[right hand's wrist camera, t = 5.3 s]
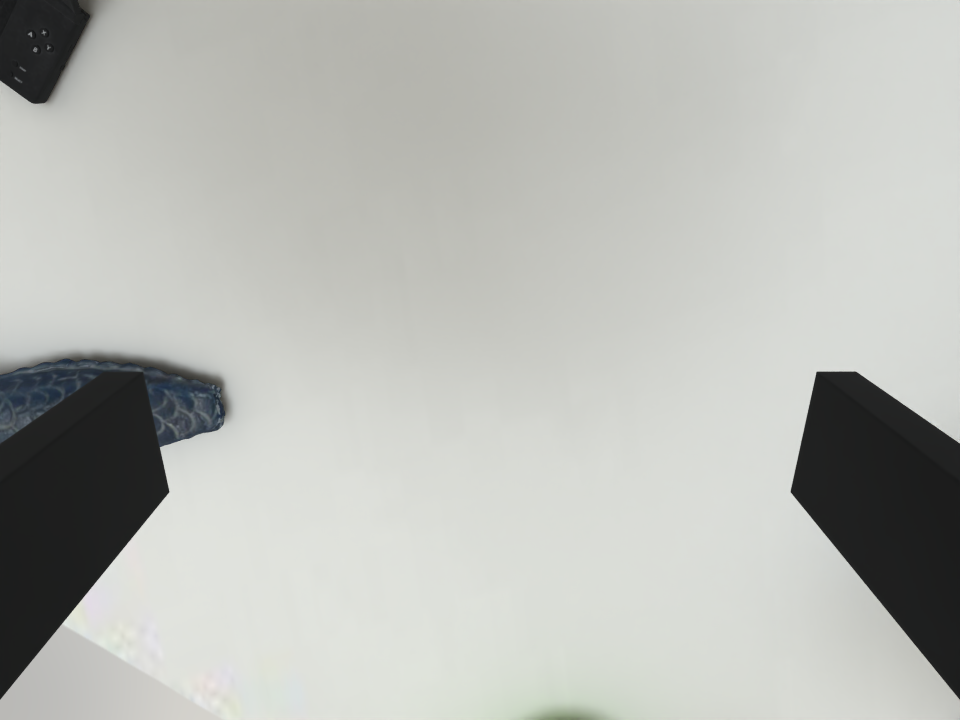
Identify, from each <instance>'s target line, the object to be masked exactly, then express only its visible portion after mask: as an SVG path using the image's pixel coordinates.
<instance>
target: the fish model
mask: <svg viewBox="0 0 960 720" xmlns="http://www.w3.org/2000/svg"><path fill="white" fill-rule="evenodd" d="M103 372H143V373H144V377H145V382H146V387H147V391H148V396H149V400H150V405H151V410H152V414H153V419H154V423H155V428H156V433H157V437H158V442H159V446H160V447H162V446H164V445H168V444H171V443H174V442H177V441H180V440H183V439H189V438H192V437H193V436H195V435H198V434H201V433H206V432H212V431H216V430H218V429H220V428H221V427H222V425H223V423H224V416H225V411H224V407H223V404H222V402H221V400H220V397H221V395H220V392H221V388H220V387H216V385H213V384H210V383H205V384H204V383H201V382H200V381H199V380H188V379H185V378H183V377H181V376H179V375H177V374H166V373H165V372H163V371H160V370H158V369H156V368H153V367H147V368H143V367H141V366H139V365H136V364H132V363H127V364H117V363H115V362H111V361H109V362H101V363H100V362H98V361H95V360H85V359H84V360H81V361H79V362H75V361H72V360H70V359H63V360H61V361H58V362H55V363H51V362H45V363H41V364H39V365H37V366H35V367H33V368H27V367H25V368H20V369H18V370H16V371H14V372H12V373H8V374H4V375H0V443H2V442H3V441H5V440H6V439H8V438H9V437H11V436H12V435H13V434H15V433H16V432H18V431H19V430H21V429H22V428H23V427H25V426H26V425H28V424H29V423H31V422H32V421H34V420H35V419H36V418H38V417H39V416H41V415H42V414H44V413H45V412H47V411H48V410H49V409H51V408H52V407H54V406H55V405H57V404H58V403H60V402H61V401H62V400H64V399H65V398H67V397H68V396H70V395H71V394H73V393H74V392H75V391H77V390H78V389H80V388H81V387H83V386H84V385H86V384H87V383H88V382H90V381H91V380H93V379H94V378H96V377H97V376H99V375H100V374H101V373H103Z"/></svg>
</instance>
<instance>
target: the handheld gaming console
mask: <svg viewBox="0 0 960 720" xmlns="http://www.w3.org/2000/svg"><path fill="white" fill-rule="evenodd" d="M89 17H90V15H89V14H87V13H86V12H85V11H84V10H82V9H81V8H80V7H79V3H78V0H0V81H2V82H3V83H5V84H6V85H7V86H9V87H10V88H11V89H13V90H14V91H16V92H17V93H18V94H20V95H21V96H22V97H24V98H25V99H27V100H28V101H29V102H31V103H34V104H39V103H45V102H46V101H47V99H48V97H49V95H50V93H51V91H52V89H53V87H54V85H55V83H56V81H57V79H58V77H59V75H60V73H61V71H62V70H63V69H64V67H65V63H66V61H67V59H68V58H69V56H70V54H71V52H72V50H73V48H74V46H75V44H76V42H77V40H78V38H79V36H80V34H81V32H82V30H83V29H84V27H85V25H86V23H87V21H88V19H89Z"/></svg>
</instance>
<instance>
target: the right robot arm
mask: <svg viewBox="0 0 960 720" xmlns="http://www.w3.org/2000/svg"><path fill="white" fill-rule="evenodd" d="M168 493H169V488H168V483H167V479H166V474H165V469H164V465H163V460H162V456H161V451H160V446H159V442H158V437H157V433H156V428H155V423H154V419H153V414H152V410H151V405H150V400H149V396H148V391H147V387H146V382H145V377H144V373H143V372H103V373H101V374H100V375H99V376H97V377H96V378H94V379H93V380H91V381H90V382H88V383H87V384H86V385H84V386H83V387H81V388H80V389H78V390H77V391H75V392H74V393H73V394H71V395H70V396H68V397H67V398H65V399H64V400H62V401H61V402H60V403H58V404H57V405H55V406H54V407H52V408H51V409H49V410H48V411H47V412H45V413H44V414H42V415H41V416H39V417H38V418H36V419H35V420H34V421H32V422H31V423H29V424H28V425H26V426H25V427H23V428H22V429H21V430H19V431H18V432H16V433H15V434H13V435H12V436H11V437H9V438H8V439H6V440H5V441H3V442H2V443H0V699H1V698H2V697H3V695H4V694H5V693H6V692H7V691H8V689H9V688H10V687H11V686H12V684H13V683H14V682H15V681H16V679H17V678H18V677H19V676H20V675H21V673H22V672H23V671H24V670H25V668H26V667H27V666H28V665H29V664H30V662H31V661H32V660H33V659H34V657H35V656H36V655H37V654H38V653H39V651H40V650H41V649H42V648H43V646H44V645H45V644H46V643H47V641H48V640H49V639H50V638H51V637H52V635H53V634H54V633H55V632H56V630H57V629H58V628H59V627H60V626H61V624H62V623H63V622H64V621H65V619H66V618H67V617H68V616H69V615H70V613H71V612H72V611H73V610H74V608H75V607H76V606H77V605H78V603H79V602H80V601H81V600H82V599H83V597H84V596H85V595H86V594H87V592H88V591H89V590H90V589H91V588H92V586H93V585H94V584H95V583H96V581H97V580H98V579H99V578H100V576H101V575H102V574H103V573H104V572H105V570H106V569H107V568H108V567H109V565H110V564H111V563H112V562H113V561H114V559H115V558H116V557H117V556H118V554H119V553H120V552H121V551H122V550H123V548H124V547H125V546H126V545H127V543H128V542H129V541H130V540H131V538H132V537H133V536H134V535H135V534H136V532H137V531H138V530H139V529H140V527H141V526H142V525H143V524H144V523H145V521H146V520H147V519H148V518H149V516H150V515H151V514H152V513H153V511H154V510H155V509H156V508H157V507H158V505H159V504H160V503H161V502H162V500H163V499H164V498H165V497H166V496H167V494H168ZM791 493H792V494H793V496H794V497H795V498H796V499H797V500H798V502H799V503H800V504H801V505H802V507H803V508H804V509H805V510H806V511H807V513H808V514H809V515H810V516H811V518H812V519H813V520H814V521H815V523H816V524H817V525H818V526H819V527H820V529H821V530H822V531H823V532H824V534H825V535H826V536H827V537H828V538H829V540H830V541H831V542H832V543H833V545H834V546H835V547H836V548H837V550H838V551H839V552H840V553H841V554H842V556H843V557H844V558H845V559H846V561H847V562H848V563H849V564H850V565H851V567H852V568H853V569H854V570H855V572H856V573H857V574H858V575H859V576H860V578H861V579H862V580H863V581H864V583H865V584H866V585H867V586H868V588H869V589H870V590H871V591H872V592H873V594H874V595H875V596H876V597H877V599H878V600H879V601H880V602H881V603H882V605H883V606H884V607H885V608H886V610H887V611H888V612H889V613H890V615H891V616H892V617H893V618H894V619H895V621H896V622H897V623H898V624H899V626H900V627H901V628H902V629H903V630H904V632H905V633H906V634H907V635H908V637H909V638H910V639H911V640H912V641H913V643H914V644H915V645H916V646H917V648H918V649H919V650H920V651H921V653H922V654H923V655H924V656H925V657H926V659H927V660H928V661H929V662H930V664H931V665H932V666H933V667H934V668H935V670H936V671H937V672H938V673H939V675H940V676H941V677H942V678H943V680H944V681H945V682H946V683H947V684H948V686H949V687H950V688H951V689H952V691H953V692H954V693H955V694H956V695H957V697H958V698H959V699H960V443H958V442H957V441H955V440H954V439H952V438H951V437H949V436H948V435H947V434H945V433H944V432H942V431H941V430H939V429H938V428H937V427H935V426H934V425H932V424H931V423H929V422H928V421H926V420H925V419H924V418H922V417H921V416H919V415H918V414H916V413H915V412H913V411H912V410H911V409H909V408H908V407H906V406H905V405H903V404H902V403H900V402H899V401H898V400H896V399H895V398H893V397H892V396H890V395H889V394H887V393H886V392H885V391H883V390H882V389H880V388H879V387H877V386H876V385H874V384H873V383H872V382H870V381H869V380H867V379H866V378H864V377H863V376H861V375H860V374H859V373H857V372H817V373H816V377H815V382H814V387H813V391H812V396H811V400H810V405H809V410H808V414H807V419H806V423H805V428H804V433H803V437H802V442H801V446H800V451H799V456H798V460H797V465H796V469H795V474H794V479H793V483H792V488H791Z"/></svg>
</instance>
